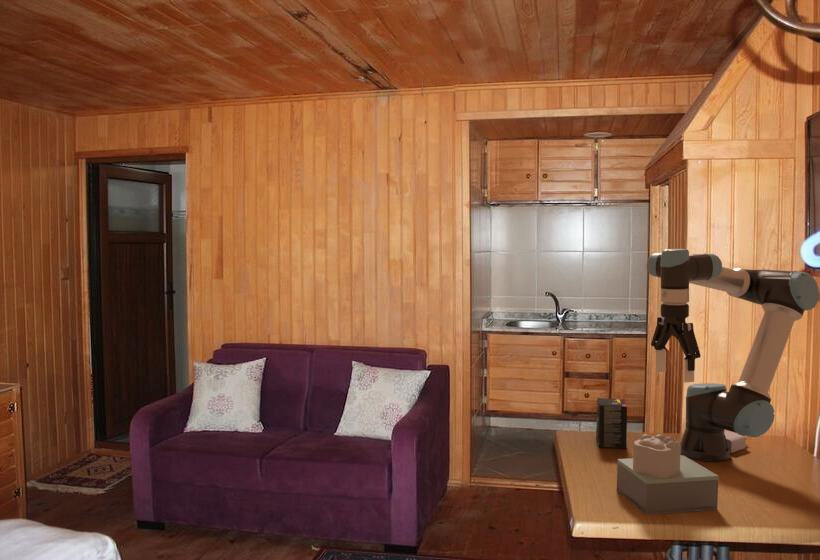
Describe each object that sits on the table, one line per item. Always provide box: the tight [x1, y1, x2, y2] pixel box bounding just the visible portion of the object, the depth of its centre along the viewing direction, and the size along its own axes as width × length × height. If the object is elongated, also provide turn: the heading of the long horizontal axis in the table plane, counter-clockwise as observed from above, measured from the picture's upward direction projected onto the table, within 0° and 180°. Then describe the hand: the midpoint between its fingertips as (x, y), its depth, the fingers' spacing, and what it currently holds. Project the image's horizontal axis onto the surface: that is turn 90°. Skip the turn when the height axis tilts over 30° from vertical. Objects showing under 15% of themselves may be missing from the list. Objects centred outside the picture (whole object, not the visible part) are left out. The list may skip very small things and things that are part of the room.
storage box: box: [616, 463, 719, 516], centre depth 180 cm, size 20×16×8 cm
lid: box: [617, 454, 719, 484], centre depth 180 cm, size 20×16×1 cm
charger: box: [724, 430, 747, 454], centre depth 227 cm, size 5×9×15 cm
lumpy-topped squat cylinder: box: [632, 433, 682, 478], centre depth 178 cm, size 10×13×9 cm
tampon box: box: [595, 397, 628, 450], centre depth 229 cm, size 11×9×15 cm
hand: (674, 376), depth 193 cm, fingers open, 13 cm apart
